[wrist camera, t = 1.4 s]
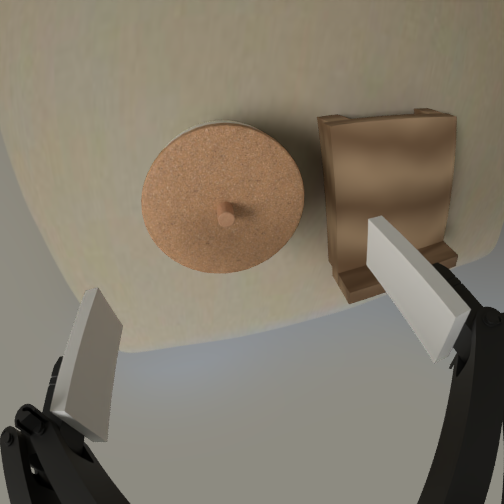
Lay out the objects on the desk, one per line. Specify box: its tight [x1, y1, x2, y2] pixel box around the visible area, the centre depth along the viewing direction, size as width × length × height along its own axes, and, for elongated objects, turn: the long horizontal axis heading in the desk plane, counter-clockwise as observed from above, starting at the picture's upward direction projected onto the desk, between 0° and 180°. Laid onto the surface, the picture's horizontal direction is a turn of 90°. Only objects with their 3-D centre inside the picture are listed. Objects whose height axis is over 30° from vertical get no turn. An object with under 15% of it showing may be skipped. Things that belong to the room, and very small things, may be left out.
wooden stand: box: [317, 108, 458, 304], centre depth 25 cm, size 16×14×7 cm
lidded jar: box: [141, 120, 304, 273], centre depth 21 cm, size 11×11×9 cm
